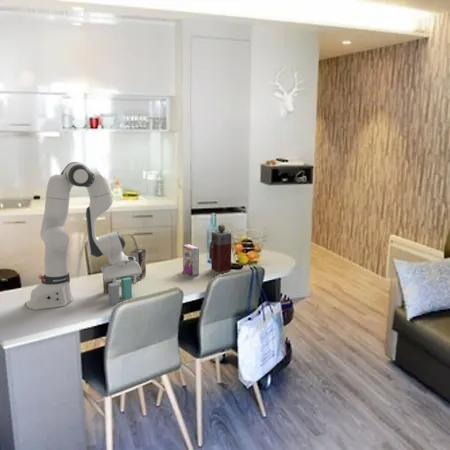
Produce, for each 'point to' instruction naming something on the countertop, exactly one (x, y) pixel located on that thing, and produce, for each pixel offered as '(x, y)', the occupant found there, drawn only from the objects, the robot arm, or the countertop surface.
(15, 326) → the countertop surface
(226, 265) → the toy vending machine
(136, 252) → the coffee box
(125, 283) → the teal block
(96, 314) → the countertop surface
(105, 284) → the walnut block
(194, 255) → the candy bar box
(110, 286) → the slate block
